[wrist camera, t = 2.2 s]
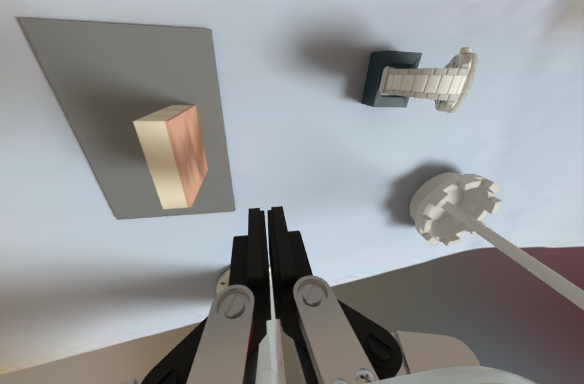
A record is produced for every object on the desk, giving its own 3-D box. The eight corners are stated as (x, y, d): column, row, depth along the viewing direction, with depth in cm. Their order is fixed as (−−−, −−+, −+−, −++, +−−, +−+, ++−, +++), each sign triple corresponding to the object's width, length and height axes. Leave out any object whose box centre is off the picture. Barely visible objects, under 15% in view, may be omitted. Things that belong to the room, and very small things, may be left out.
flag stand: (467, 151, 34) (1127, 397, 8) (475, 203, 40) (859, 431, 15) (395, 194, 36) (749, 499, 10) (413, 237, 42) (658, 490, 17)
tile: (207, 169, 28) (191, 207, 20) (187, 170, 27) (163, 209, 20) (195, 104, 24) (168, 121, 16) (172, 104, 23) (132, 121, 16)
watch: (404, 104, 28) (480, 120, 19) (348, 103, 27) (400, 120, 18) (418, 55, 25) (516, 45, 16) (357, 51, 24) (424, 38, 15)
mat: (235, 209, 32) (235, 211, 32) (119, 217, 30) (117, 219, 29) (211, 30, 21) (210, 29, 21) (23, 19, 19) (18, 17, 18)
